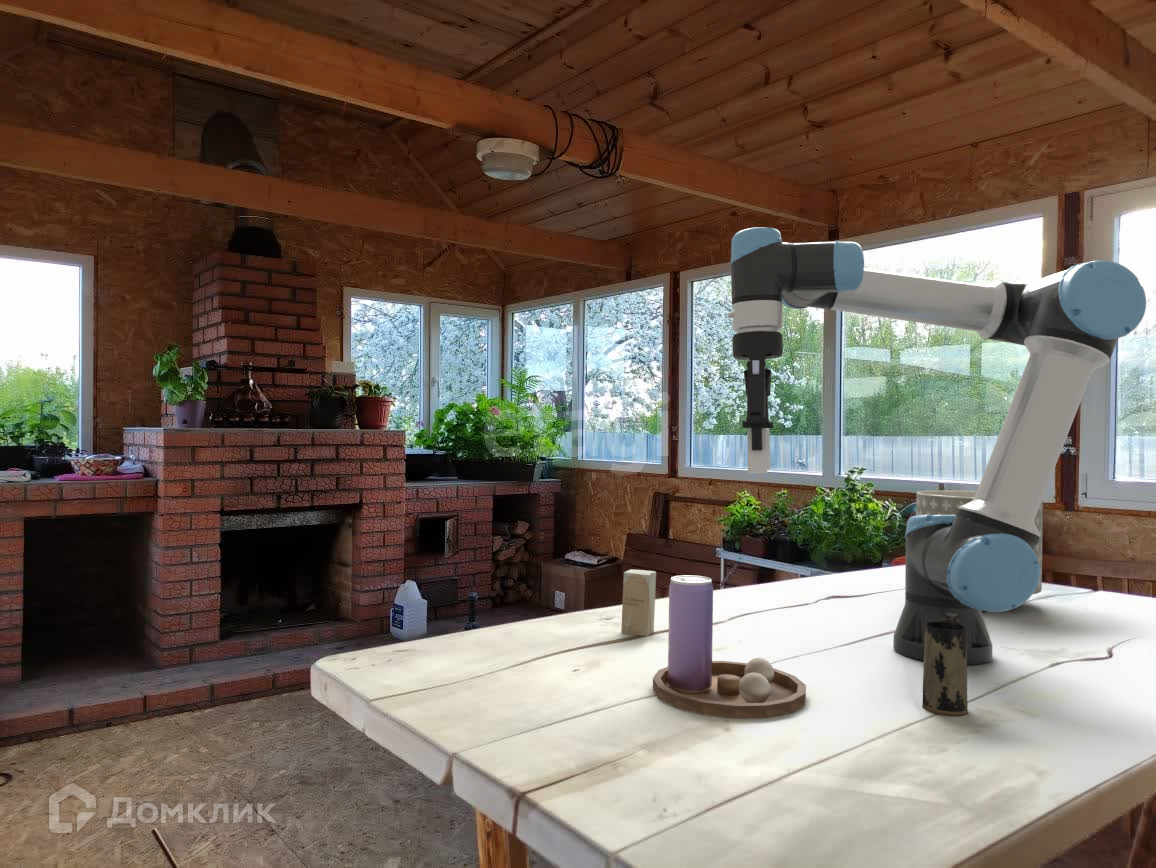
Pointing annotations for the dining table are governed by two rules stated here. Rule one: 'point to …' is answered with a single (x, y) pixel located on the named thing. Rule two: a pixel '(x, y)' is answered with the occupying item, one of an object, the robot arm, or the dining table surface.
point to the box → (638, 602)
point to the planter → (952, 500)
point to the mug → (945, 667)
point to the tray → (735, 704)
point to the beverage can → (690, 634)
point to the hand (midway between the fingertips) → (759, 471)
